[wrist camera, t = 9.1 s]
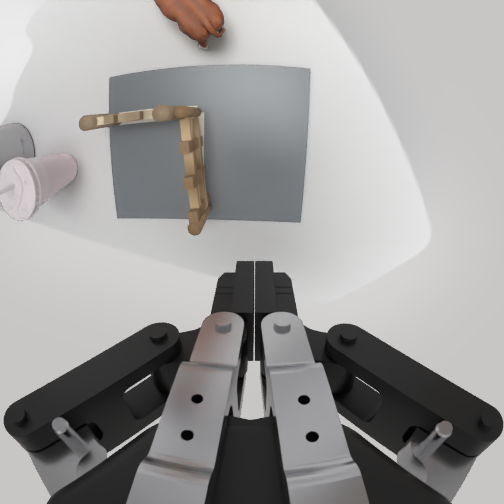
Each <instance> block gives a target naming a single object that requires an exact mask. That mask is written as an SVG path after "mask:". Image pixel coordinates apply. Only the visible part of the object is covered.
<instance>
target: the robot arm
mask: <svg viewBox="0 0 504 504" xmlns="http://www.w3.org/2000/svg"><path fill="white" fill-rule="evenodd" d="M16 157H22V158H25V159H27V158H34V147H33V142H32V139H31V136H30V134H29V132H28V131H27V129H26V128H25V127H24V126H22V125H21V124H18V123H12V124H8V125H3V126H0V170H1V168H2V166H3V165H4V164H5V163H6V162H7V161H9V160H12V159H13V158H16ZM293 293H294V292H293V288H292V282H291V279H290V277H289V276H288V275H287V274H286V273H274V272H273V262H272V261H255V361H260V368H261V371H260V380H261V389H262V399H263V408H264V418H260V419H255V420H247V419H242V418H240V415H241V408H242V401H243V394H244V387H245V380H246V372H247V364H248V361H253V342H254V261H237V265H236V272H235V273H224V274H223V275H222V276H221V277H220V278H219V279H218V282H217V288H216V292H215V297H214V301H213V306H212V310H211V315H210V316H208V317H207V318H205V320H204V321H203V323H202V326H201V327H200V328H198V329H196V330H192V331H187V332H182V333H179V331H178V329H177V328H176V327H175V326H174V325H171V324H169V323H155V324H151V325H149V326H147V327H145V328H143V329H142V330H140V331H139V332H137V333H135V334H133V335H132V336H130V337H128V338H126V339H125V340H123V341H121V342H119V343H118V344H116V345H114V346H113V347H111V348H109V349H108V350H106V351H104V352H102V353H101V354H99V355H97V356H96V357H93V358H92V359H90V360H89V361H87V362H85V363H83V364H81V365H80V366H78V367H76V368H74V369H73V370H71V371H69V372H67V373H66V374H64V375H62V376H60V377H59V378H57V379H55V380H53V381H52V382H50V383H48V384H46V385H45V386H43V387H41V388H39V389H37V390H36V391H34V392H32V393H30V394H29V395H27V396H25V397H23V398H21V399H20V400H18V401H16V402H14V403H13V404H12V405H10V406H9V408H8V409H7V411H6V413H5V416H4V426H5V428H6V430H7V432H8V433H9V434H10V435H11V436H12V437H13V438H14V439H15V440H17V441H18V442H19V443H20V445H21V446H22V447H23V448H24V449H25V450H26V451H27V452H28V453H29V455H30V457H31V459H32V461H33V464H34V466H35V467H36V470H37V472H38V473H39V475H40V477H41V479H42V481H43V483H44V484H45V486H46V488H47V490H48V491H49V493H50V495H51V498H50V499H49V501H48V502H47V504H452V503H451V501H452V500H453V498H454V497H455V495H456V493H457V491H458V490H459V488H460V487H461V485H462V483H463V482H464V480H465V478H466V476H467V474H468V473H469V471H470V469H471V467H472V465H473V463H474V461H475V459H476V457H477V456H479V455H480V454H481V453H482V452H483V451H484V450H485V449H486V448H488V446H490V445H491V444H492V443H493V442H494V441H495V440H496V439H497V438H498V437H499V436H500V434H501V433H502V430H503V420H502V417H501V414H500V413H499V412H498V410H497V409H496V408H494V407H493V406H491V405H490V404H488V403H486V402H484V401H483V400H481V399H479V398H477V397H476V396H474V395H472V394H471V393H469V392H467V391H465V390H464V389H462V388H460V387H459V386H457V385H455V384H454V383H452V382H450V381H449V380H447V379H445V378H443V377H442V376H440V375H438V374H437V373H435V372H433V371H432V370H430V369H428V368H427V367H425V366H423V365H422V364H420V363H418V362H416V361H415V360H413V359H411V358H410V357H408V356H406V355H405V354H403V353H401V352H400V351H398V350H396V349H395V348H393V347H391V346H389V345H388V344H386V343H385V342H383V341H381V340H379V339H378V338H376V337H375V336H373V335H371V334H370V333H368V332H366V331H365V330H363V329H361V328H359V327H358V326H355V325H352V324H338V325H335V326H333V327H332V328H330V329H329V331H328V333H324V332H319V331H315V330H312V329H309V328H307V327H306V326H304V325H303V322H302V320H301V319H299V317H298V315H297V309H296V303H295V298H294V294H293ZM149 374H151V376H150V377H149V378H147V379H146V380H144V381H143V382H141V383H140V384H138V385H137V386H135V387H134V388H132V389H131V390H129V391H128V392H126V393H125V391H126V390H127V389H128V388H130V387H131V386H133V385H134V384H135V383H137V382H139V381H140V380H142V379H143V378H145V377H146V376H148V375H149ZM356 377H358V378H359V379H361V380H362V381H364V382H365V383H367V384H368V385H370V386H371V387H373V388H374V389H376V390H377V391H378V392H379V393H380V394H379V393H378V392H376V391H374V389H372V388H371V387H369V386H368V385H366V384H365V383H363V382H362V381H360V380H359V379H357V378H356ZM338 413H339V414H341V415H342V416H344V417H345V418H346V419H347V420H349V421H350V422H351V423H353V424H354V425H355V426H357V427H358V428H360V429H361V430H362V431H364V432H365V433H366V434H368V435H369V436H370V437H372V438H373V439H375V440H376V441H377V442H379V443H380V444H382V445H383V446H385V447H386V448H387V449H389V450H390V451H392V452H393V453H395V454H396V455H397V463H398V464H397V463H396V462H395V461H393V460H392V459H391V458H389V457H388V456H387V455H385V454H384V453H383V452H381V451H380V450H379V449H377V448H376V447H375V446H374V445H372V444H371V443H370V442H368V441H367V440H366V439H365V438H363V437H362V436H361V435H360V434H358V433H357V432H356V431H354V430H352V429H350V428H349V427H347V426H345V425H343V424H341V422H340V419H339V415H338ZM160 416H161V419H160V422H159V423H158V424H156V425H154V426H152V427H150V428H149V429H147V430H146V431H144V432H142V433H141V434H140V435H138V436H137V437H136V438H135V439H133V440H132V441H131V442H129V443H128V444H126V445H125V446H124V447H122V448H121V449H119V450H118V451H117V452H115V453H114V454H112V455H111V456H110V457H109V458H107V453H108V452H109V451H111V450H112V449H114V448H115V447H117V446H118V445H120V444H121V443H123V442H124V441H125V440H127V439H129V438H130V437H132V436H133V435H135V434H136V433H138V432H139V431H140V430H142V429H143V428H145V427H146V426H147V425H149V424H150V423H152V422H153V421H154V420H156V419H157V418H159V417H160Z"/></svg>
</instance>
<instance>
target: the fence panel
mask: <svg viewBox="0 0 504 504" xmlns="http://www.w3.org/2000/svg"><path fill="white" fill-rule="evenodd" d="M174 114H175V116H176V117H178V118H186V119H180V127H181V137H182V141H181V142H179V150H180V154H183V155H184V164H185V172H186V176H185V177H184V178H183V182H184V190H188V195H189V202H190V210H189V211H188V218H189V226H188V231H189V233H190V234H192V235H198V234H200V232H201V230H202V228H203V226H204V224H205V222H206V220H207V218H208V216H209V214H210V211H211V209H212V205H211V204H210V203H209V194H208V193H206V184H205V175H206V167H205V165H203V157H202V146H203V137H202V136H200V126H199V118H187V117H199V116H200V115H201V110H200V108H197V107H188V106H178V107H176V108H175V110H174Z"/></svg>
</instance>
